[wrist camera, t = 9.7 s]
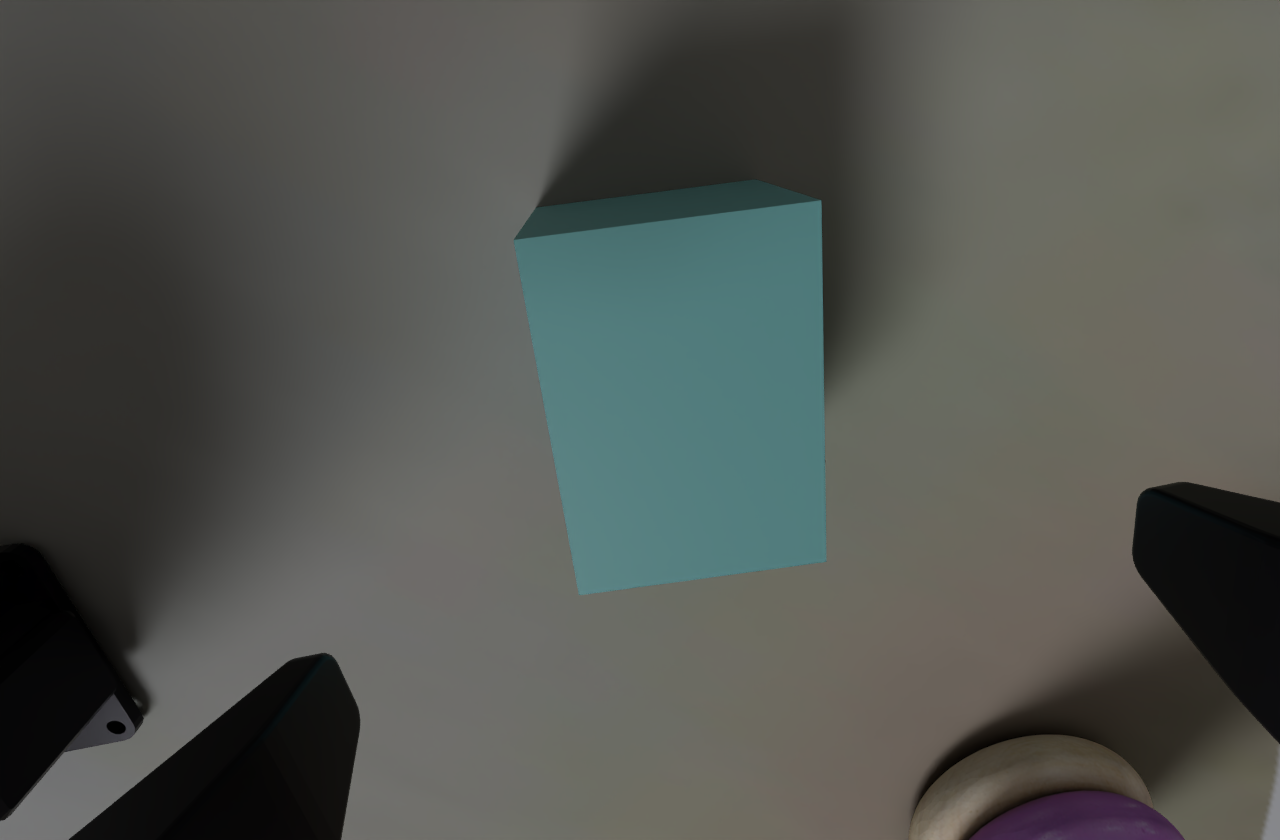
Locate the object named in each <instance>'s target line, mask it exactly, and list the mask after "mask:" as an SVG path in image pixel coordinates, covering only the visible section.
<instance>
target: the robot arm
mask: <svg viewBox="0 0 1280 840" xmlns="http://www.w3.org/2000/svg"><path fill="white" fill-rule="evenodd" d="M1132 555H1133V561H1134V564H1135V567H1136V569H1137V571H1138V573H1139V574H1140V576H1141V577H1142V579H1143V580H1144V581H1145V582H1146V584H1147V585H1148V586H1149V587H1150V589H1151V590H1152V591H1153V593H1154V594H1155V595H1156V596H1157V598H1158V599H1159V600H1160V601H1161V603H1162V604H1163V605H1164V607H1165V608H1166V609H1167V610H1168V612H1169V613H1170V614H1171V616H1172V617H1173V618H1174V619H1175V621H1176V622H1177V623H1178V624H1179V626H1180V627H1181V628H1182V630H1183V631H1184V632H1185V633H1186V635H1187V636H1188V637H1189V639H1190V640H1191V641H1192V642H1193V644H1194V645H1195V646H1196V647H1197V649H1198V650H1199V651H1200V653H1201V654H1202V655H1203V656H1204V658H1205V659H1206V660H1207V661H1208V663H1209V664H1210V665H1211V667H1212V668H1213V669H1214V670H1215V672H1216V673H1217V674H1218V675H1219V677H1220V678H1221V679H1222V680H1223V682H1224V683H1225V684H1226V685H1227V686H1228V688H1229V689H1230V690H1231V691H1232V692H1233V694H1234V695H1235V696H1236V697H1237V698H1238V699H1239V700H1240V702H1241V703H1242V704H1243V705H1244V706H1245V707H1246V708H1247V709H1248V710H1249V712H1250V713H1251V714H1252V715H1253V716H1254V717H1255V718H1256V719H1257V720H1258V721H1259V722H1260V723H1261V724H1262V726H1263V727H1264V728H1265V729H1266V730H1267V731H1268V732H1269V733H1270V734H1271V735H1272V736H1273V737H1274V738H1275V739H1276V740H1277V742H1278V743H1279V744H1280V503H1279V502H1275V501H1270V500H1266V499H1261V498H1257V497H1252V496H1248V495H1243V494H1239V493H1234V492H1230V491H1225V490H1221V489H1217V488H1212V487H1208V486H1203V485H1199V484H1194V483H1189V482H1177V483H1172V484H1167V485H1162V486H1157V487H1152V488H1148V489H1146V490H1145V491H1143V492H1142V493H1141V494H1140V496H1139V498H1138V501H1137V508H1136V518H1135V528H1134V537H1133V547H1132ZM15 562H17V563H18V564H19V565H20V566H21V567H20V566H18V565H17V564H16V563H15ZM143 719H144V718H143V716H142V713H141V711H140V710H139V708H138V707H137V705H136V703H135V702H134V700H133V699H132V697H131V696H130V694H129V692H128V691H127V689H126V688H125V686H124V684H123V683H122V681H121V680H120V678H119V677H118V675H117V673H116V672H115V670H114V669H113V667H112V665H111V664H110V662H109V661H108V659H107V658H106V656H105V654H104V653H103V651H102V650H101V648H100V646H99V645H98V643H97V642H96V640H95V639H94V637H93V635H92V634H91V632H90V631H89V629H88V627H87V626H86V624H85V623H84V621H83V620H82V618H81V616H80V615H79V613H78V612H77V610H76V608H75V607H74V605H73V604H72V602H71V601H70V599H69V597H68V596H67V594H66V593H65V591H64V589H63V588H62V586H61V585H60V583H59V582H58V580H57V578H56V577H55V575H54V574H53V572H52V570H51V569H50V567H49V566H48V564H47V563H46V561H45V559H44V558H43V556H42V555H41V554H40V553H39V552H38V551H37V550H36V549H34V548H32V547H31V546H28V545H25V544H10V545H5V546H0V821H1V820H5V819H6V818H8V817H9V816H10V815H11V814H12V813H13V812H14V811H15V809H16V808H17V807H18V806H19V805H20V803H21V802H22V801H23V800H24V799H25V798H26V796H27V795H28V794H29V793H30V792H31V791H32V789H33V788H34V787H35V786H36V785H37V783H38V782H39V781H40V780H41V779H42V778H43V776H44V775H45V774H46V773H47V772H48V771H49V769H50V768H51V767H52V766H53V765H54V763H55V762H56V761H57V760H58V759H59V758H60V756H61V755H62V754H63V753H64V752H67V751H72V750H77V749H83V748H88V747H93V746H98V745H103V744H108V743H113V742H118V741H123V740H127V739H129V738H131V737H132V736H133V735H134V734H135V732H136V731H137V730H138V729H139V727H140V726H141V725H142V723H143ZM359 731H360V714H359V710H358V706H357V704H356V701H355V699H354V697H353V695H352V693H351V691H350V689H349V686H348V684H347V682H346V680H345V678H344V676H343V674H342V671H341V669H340V667H339V665H338V663H337V661H336V660H335V658H334V657H333V656H332V655H330V654H327V653H320V654H315V655H310V656H305V657H300V658H295V659H292V660H290V661H288V662H287V663H285V664H284V665H283V666H282V667H280V668H279V669H278V670H277V671H276V672H274V673H273V674H272V675H271V676H269V677H268V678H267V679H266V680H264V681H263V682H262V683H261V684H260V685H258V686H257V687H256V688H255V689H253V690H252V691H251V692H250V693H248V694H247V695H246V696H245V697H244V698H242V699H241V700H240V701H239V702H237V703H236V704H235V705H234V706H232V707H231V708H230V709H229V710H228V711H226V712H225V713H224V714H223V715H221V716H220V717H219V718H218V719H216V720H215V721H214V722H213V723H212V724H210V725H209V726H208V727H207V728H205V729H204V730H203V731H202V732H200V733H199V734H198V735H197V736H196V737H194V738H193V739H192V740H191V741H189V742H188V743H187V744H186V745H184V746H183V747H182V748H181V749H180V750H178V751H177V752H176V753H175V754H173V755H172V756H171V757H170V758H168V759H167V760H166V761H165V762H164V763H162V764H161V765H160V766H159V767H157V768H156V769H155V770H154V771H152V772H151V773H150V774H149V775H148V776H146V777H145V778H144V779H143V780H141V781H140V782H139V783H138V784H136V785H135V786H134V787H133V788H132V789H130V790H129V791H128V792H127V793H125V794H124V795H123V796H122V797H120V798H119V799H118V800H117V801H115V802H114V803H113V804H112V805H111V806H109V807H108V808H107V809H106V810H104V811H103V812H102V813H101V814H99V815H98V816H97V817H96V818H95V819H93V820H92V821H91V822H90V823H88V824H87V825H86V826H85V827H83V828H82V829H81V830H80V831H79V832H77V833H76V834H75V835H74V836H72V837H71V838H70V839H69V840H341V837H342V831H343V825H344V819H345V814H346V808H347V802H348V796H349V790H350V784H351V778H352V773H353V767H354V761H355V755H356V749H357V743H358V737H359Z"/></svg>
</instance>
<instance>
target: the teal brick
mask: <svg viewBox="0 0 1280 840" xmlns="http://www.w3.org/2000/svg"><path fill="white" fill-rule="evenodd" d="M514 245H515V250H516V256H517V261H518V267H519V272H520V278H521V283H522V288H523V294H524V299H525V305H526V310H527V316H528V321H529V326H530V332H531V337H532V343H533V348H534V354H535V359H536V364H537V370H538V375H539V381H540V386H541V391H542V397H543V402H544V408H545V413H546V419H547V424H548V429H549V435H550V440H551V446H552V451H553V457H554V462H555V467H556V473H557V478H558V484H559V489H560V494H561V500H562V505H563V511H564V516H565V522H566V527H567V532H568V538H569V543H570V549H571V554H572V560H573V565H574V570H575V576H576V581H577V587H578V592H579V595H584V594H592V593H599V592H607V591H614V590H621V589H629V588H636V587H644V586H651V585H658V584H666V583H673V582H680V581H688V580H695V579H703V578H710V577H717V576H725V575H732V574H740V573H747V572H754V571H762V570H769V569H776V568H784V567H791V566H799V565H806V564H813V563H821V562H826V500H825V426H824V353H823V279H822V205H821V200H819V199H816V198H813V197H810V196H806V195H803V194H800V193H797V192H794V191H791V190H788V189H785V188H782V187H778V186H775V185H772V184H769V183H766V182H763V181H760V180H757V179H755V180H747V181H739V182H731V183H723V184H716V185H708V186H700V187H692V188H684V189H677V190H669V191H661V192H653V193H645V194H638V195H630V196H622V197H614V198H606V199H599V200H591V201H583V202H575V203H567V204H560V205H552V206H544V207H536V209H535V210H534V211H533V213H532V214H531V216H530V217H529V219H528V220H527V221H526V223H525V224H524V226H523V227H522V229H521V230H520V231H519V233H518V234H517V236H516V237H515V239H514Z"/></svg>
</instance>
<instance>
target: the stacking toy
mask: <svg viewBox="0 0 1280 840" xmlns="http://www.w3.org/2000/svg"><path fill="white" fill-rule="evenodd" d="M909 840H1185V839H1184V838H1183V837H1182V835H1181V834H1180V832H1179V831H1178V830H1177V829H1176V828H1175V827H1174V826H1173V825H1172V824H1171V823H1170V822H1169V821H1168V820H1167V819H1166V818H1165V817H1164V816H1162V815H1161V814H1160V813H1158V812H1157V811H1156V810H1154V808H1153V804H1152V800H1151V797H1150V794H1149V792H1148V789H1147V787H1146V786H1145V784H1144V782H1143V780H1142V779H1141V777H1140V776H1139V775H1138V773H1137V772H1136V771H1135V770H1134V769H1133V768H1132V766H1131V765H1130V764H1129V763H1128V762H1126V761H1125V760H1124V759H1123V758H1122V757H1121V756H1119V755H1118V754H1117V753H1115V752H1113V751H1112V750H1110V749H1108V748H1106V747H1105V746H1103V745H1100V744H1098V743H1095V742H1092V741H1090V740H1087V739H1083V738H1078V737H1074V736H1067V735H1032V736H1024V737H1020V738H1015V739H1010V740H1007V741H1003V742H1000V743H997V744H994V745H991V746H989V747H986V748H984V749H981V750H979V751H977V752H975V753H974V754H972V755H970V756H968V757H966V758H964V759H963V760H961V761H960V762H958V763H957V764H955V765H954V766H952V767H951V768H950V769H948V770H947V771H946V772H945V773H944V774H942V775H941V776H940V777H939V778H938V779H937V780H936V781H935V782H934V783H933V784H932V785H931V787H930V788H929V789H928V790H927V792H926V793H925V794H924V796H923V797H922V799H921V800H920V802H919V804H918V806H917V808H916V810H915V813H914V815H913V818H912V821H911V825H910V831H909Z"/></svg>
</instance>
